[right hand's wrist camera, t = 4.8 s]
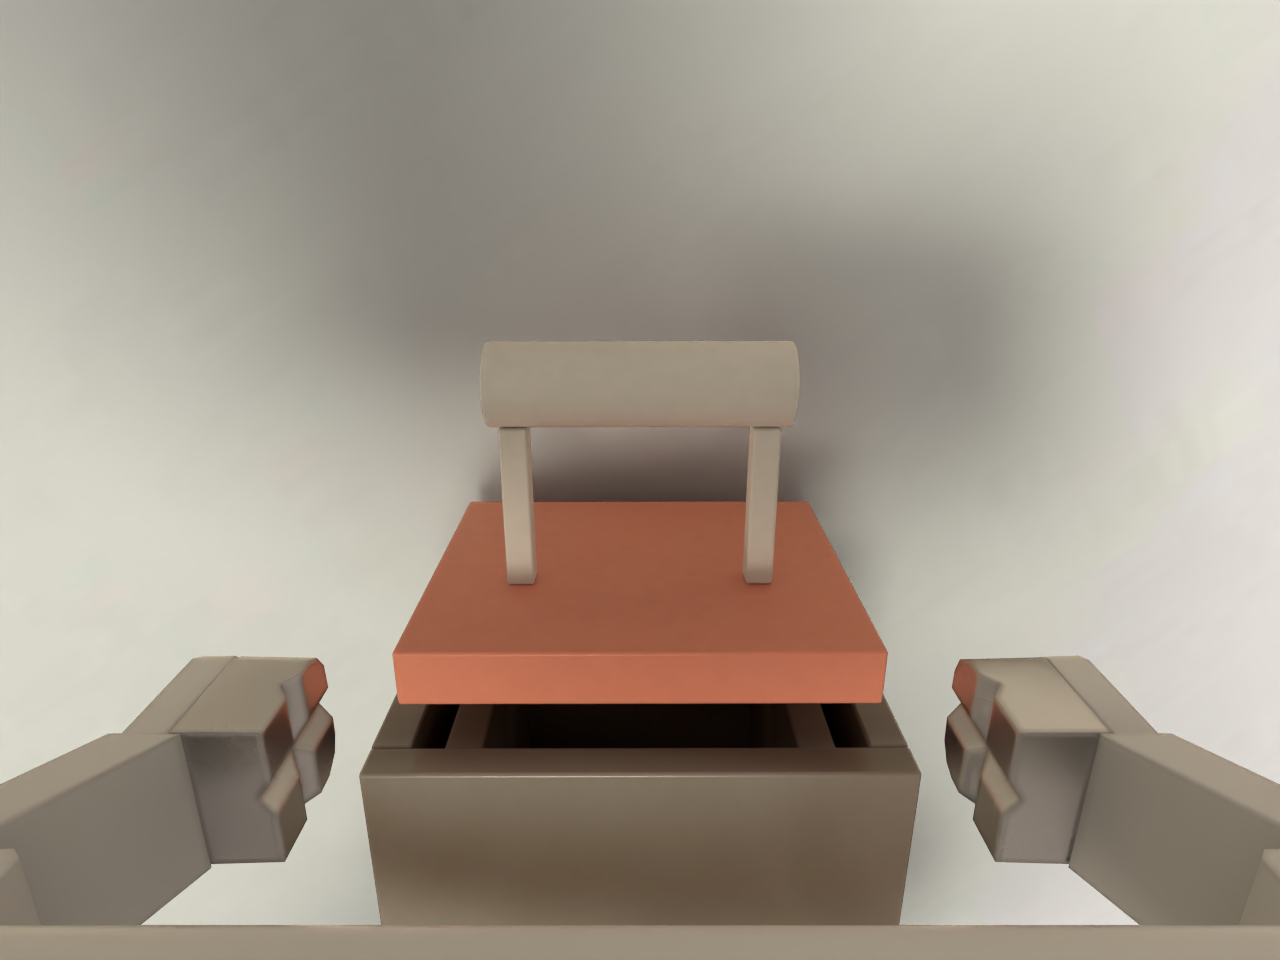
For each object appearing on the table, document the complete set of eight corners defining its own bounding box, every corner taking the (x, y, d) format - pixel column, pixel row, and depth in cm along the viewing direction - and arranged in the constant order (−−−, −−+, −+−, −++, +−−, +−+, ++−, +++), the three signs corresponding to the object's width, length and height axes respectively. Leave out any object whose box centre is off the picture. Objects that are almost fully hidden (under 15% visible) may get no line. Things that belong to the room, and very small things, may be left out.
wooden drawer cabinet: (460, 554, 24) (356, 774, 15) (817, 553, 24) (923, 773, 15) (494, 952, 30) (433, 1284, 21) (784, 951, 30) (847, 1282, 21)
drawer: (454, 307, 21) (356, 375, 14) (823, 306, 21) (923, 375, 14) (501, 906, 28) (454, 1163, 21) (777, 906, 28) (826, 1162, 21)
